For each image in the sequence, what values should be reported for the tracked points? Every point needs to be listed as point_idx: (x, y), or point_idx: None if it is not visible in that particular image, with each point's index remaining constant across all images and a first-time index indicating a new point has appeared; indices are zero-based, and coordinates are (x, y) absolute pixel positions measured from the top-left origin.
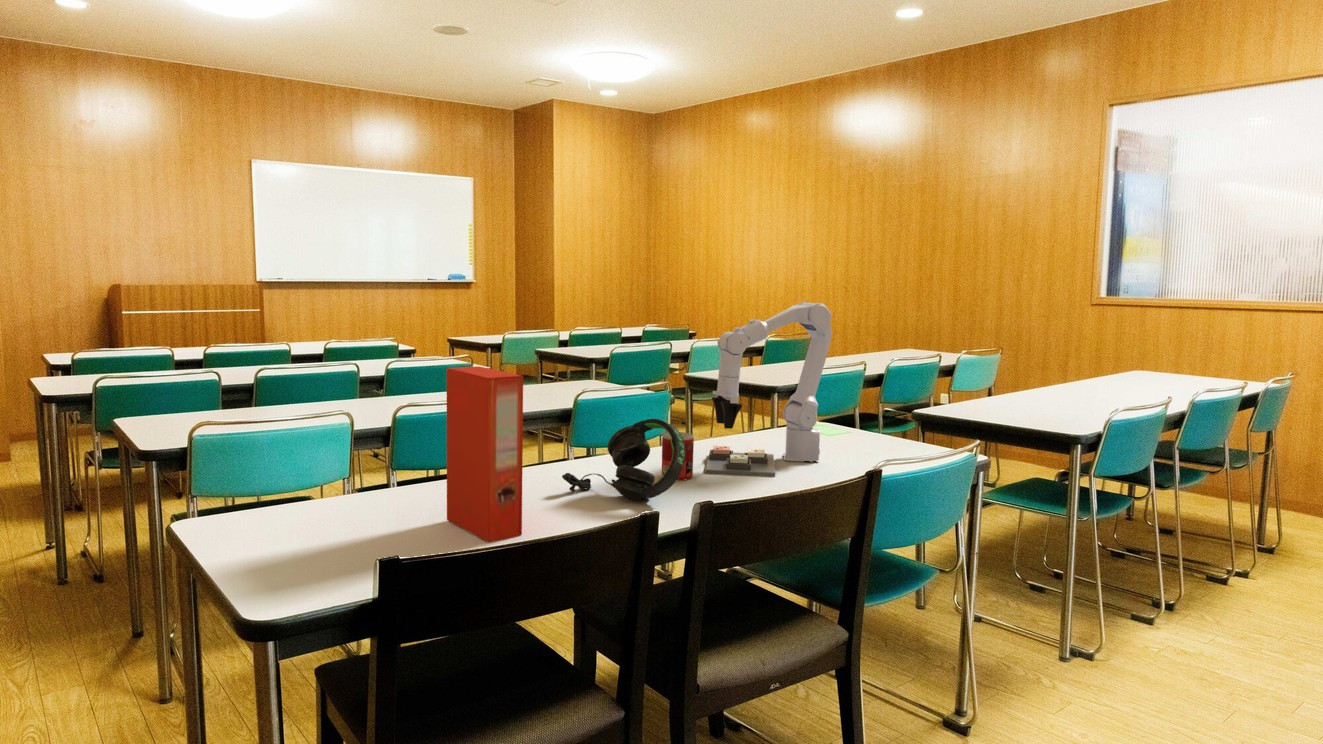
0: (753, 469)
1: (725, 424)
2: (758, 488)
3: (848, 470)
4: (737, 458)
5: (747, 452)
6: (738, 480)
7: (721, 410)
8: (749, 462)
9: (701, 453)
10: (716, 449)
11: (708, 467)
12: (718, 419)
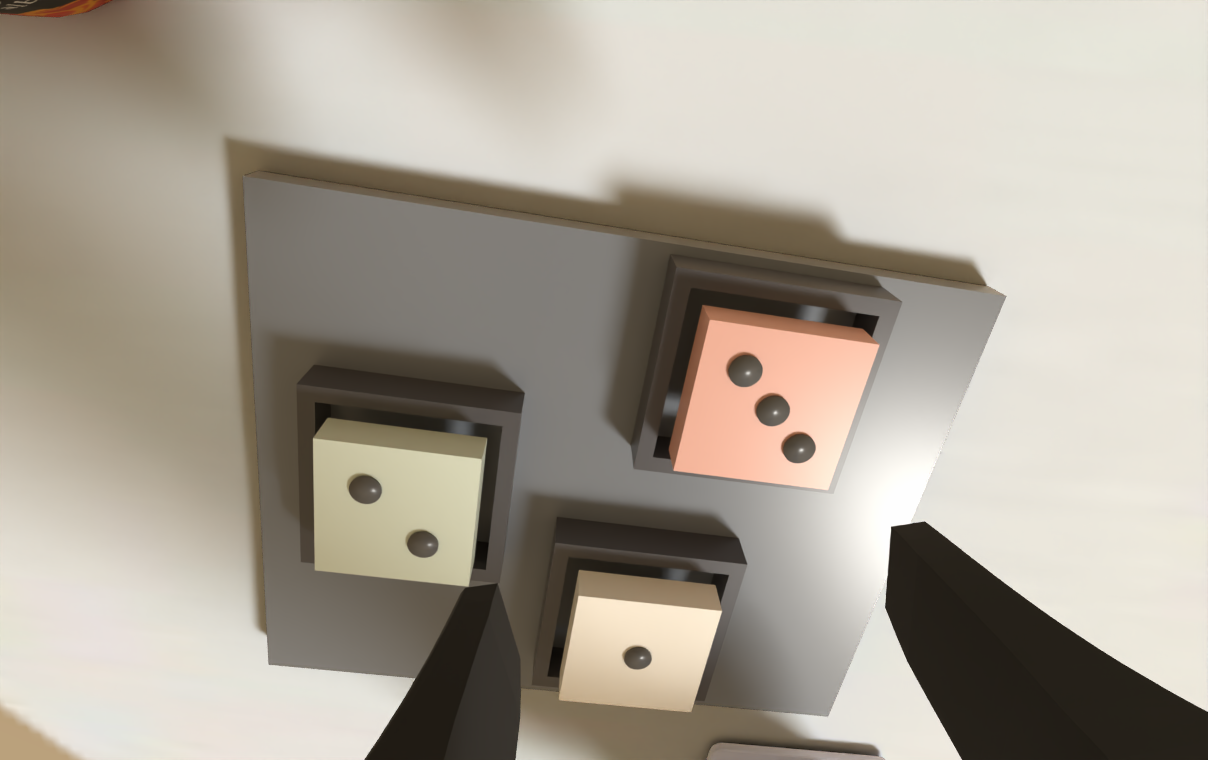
0: None
1: (442, 635)
2: None
3: None
4: (319, 497)
5: (684, 590)
6: (95, 414)
7: (1012, 749)
8: None
9: (1072, 216)
10: (704, 356)
11: (340, 214)
12: (916, 578)
